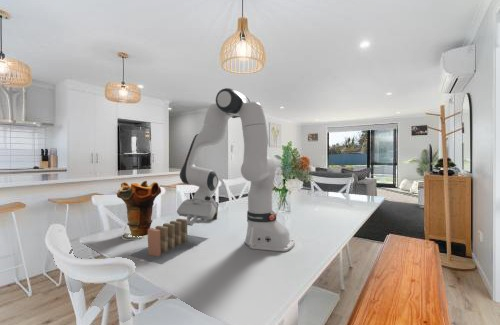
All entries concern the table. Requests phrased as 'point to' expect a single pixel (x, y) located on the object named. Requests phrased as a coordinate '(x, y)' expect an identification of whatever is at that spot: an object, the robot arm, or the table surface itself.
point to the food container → (216, 212)
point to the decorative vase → (138, 207)
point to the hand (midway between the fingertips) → (188, 224)
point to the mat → (169, 251)
